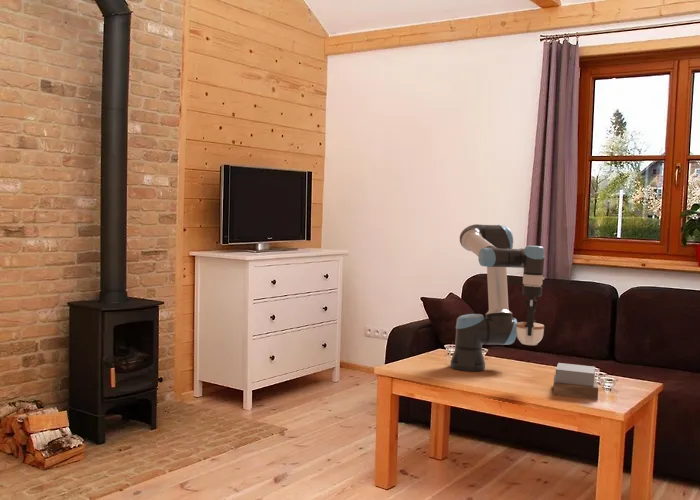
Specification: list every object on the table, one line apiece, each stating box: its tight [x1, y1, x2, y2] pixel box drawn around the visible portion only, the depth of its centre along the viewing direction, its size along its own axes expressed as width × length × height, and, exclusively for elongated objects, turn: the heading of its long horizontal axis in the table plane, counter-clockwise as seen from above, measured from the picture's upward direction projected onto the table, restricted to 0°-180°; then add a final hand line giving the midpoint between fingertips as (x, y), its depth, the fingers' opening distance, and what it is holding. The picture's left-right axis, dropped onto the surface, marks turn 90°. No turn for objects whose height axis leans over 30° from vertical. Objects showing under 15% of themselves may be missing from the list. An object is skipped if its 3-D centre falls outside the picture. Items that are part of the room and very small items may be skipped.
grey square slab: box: [554, 362, 596, 387], centre depth 287 cm, size 14×14×5 cm
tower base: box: [552, 374, 599, 401], centre depth 287 cm, size 16×16×5 cm
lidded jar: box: [516, 321, 545, 346], centre depth 289 cm, size 11×11×9 cm
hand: (529, 341), depth 290 cm, fingers closed on lidded jar, 11 cm apart
